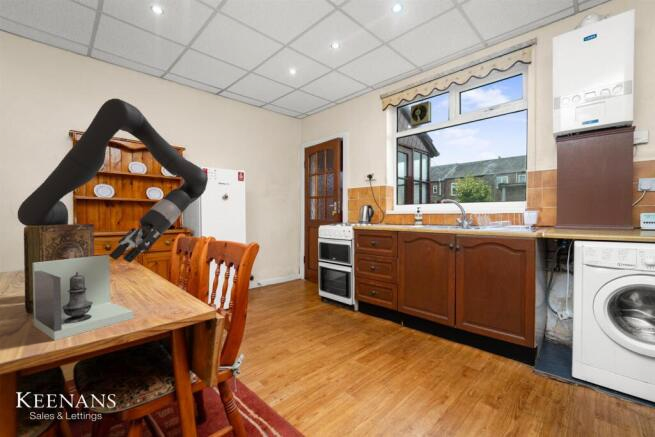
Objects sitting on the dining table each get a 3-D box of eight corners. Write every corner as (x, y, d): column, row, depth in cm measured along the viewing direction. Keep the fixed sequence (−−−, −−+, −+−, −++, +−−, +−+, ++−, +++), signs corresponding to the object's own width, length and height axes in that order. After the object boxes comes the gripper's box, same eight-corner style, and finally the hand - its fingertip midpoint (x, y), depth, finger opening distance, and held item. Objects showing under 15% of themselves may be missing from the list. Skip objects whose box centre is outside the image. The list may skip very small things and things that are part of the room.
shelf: (34, 325, 73) (32, 262, 73) (108, 307, 87) (107, 254, 86) (54, 340, 65) (53, 269, 64) (133, 318, 78) (132, 259, 78)
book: (85, 297, 97) (83, 223, 96) (98, 298, 96) (97, 223, 95) (25, 315, 81) (23, 226, 80) (40, 316, 80) (38, 226, 79)
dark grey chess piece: (83, 322, 70) (82, 273, 70) (55, 324, 69) (54, 274, 69) (98, 314, 76) (97, 268, 75) (72, 315, 75) (72, 269, 74)
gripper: (140, 208, 90) (96, 249, 81) (164, 208, 83) (119, 252, 73) (158, 224, 95) (118, 264, 86) (182, 225, 87) (142, 270, 78)
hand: (119, 259), depth 79 cm, fingers open, 8 cm apart
